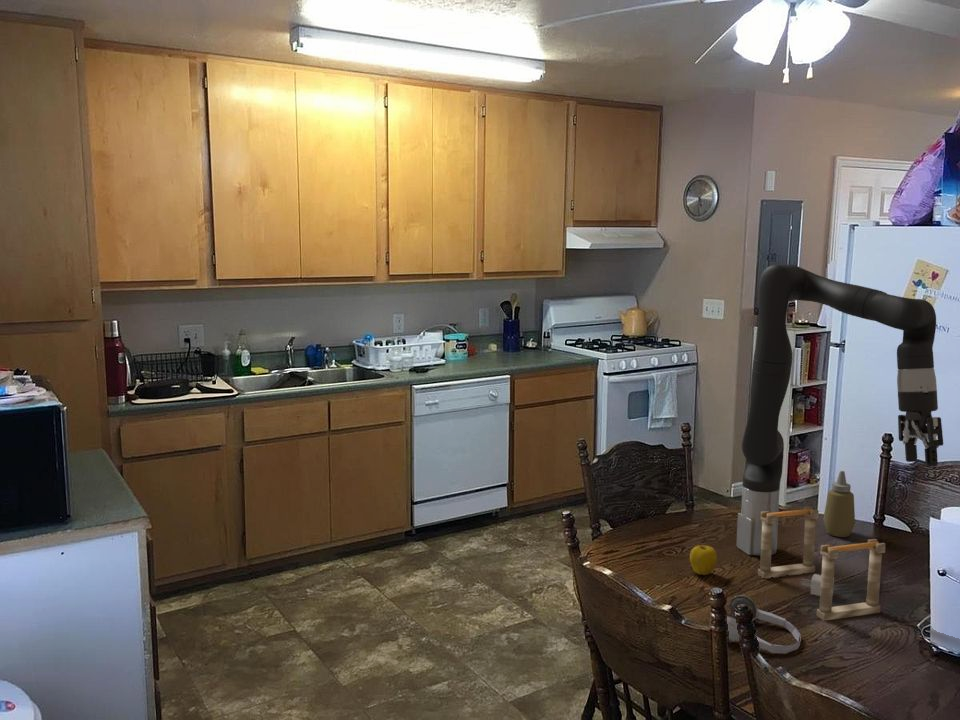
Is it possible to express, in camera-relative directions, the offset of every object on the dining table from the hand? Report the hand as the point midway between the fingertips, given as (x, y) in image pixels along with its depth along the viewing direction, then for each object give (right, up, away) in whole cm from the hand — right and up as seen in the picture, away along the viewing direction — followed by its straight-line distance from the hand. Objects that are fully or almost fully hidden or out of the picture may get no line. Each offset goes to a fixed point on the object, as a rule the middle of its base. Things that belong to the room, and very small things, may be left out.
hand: (921, 463), depth 171 cm
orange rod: (-16, -18, -1) cm, 24 cm away
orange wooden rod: (-21, -15, +20) cm, 32 cm away
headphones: (-39, -35, -6) cm, 53 cm away
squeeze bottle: (+3, -26, +47) cm, 54 cm away
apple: (-42, -30, +22) cm, 56 cm away
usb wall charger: (-18, -32, +11) cm, 38 cm away
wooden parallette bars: (-18, -32, +11) cm, 38 cm away
